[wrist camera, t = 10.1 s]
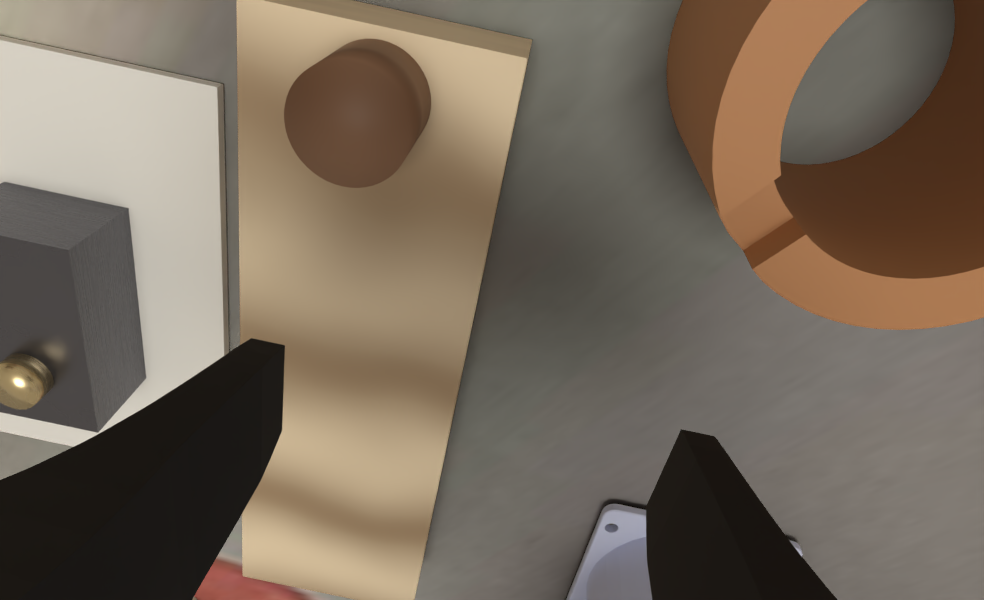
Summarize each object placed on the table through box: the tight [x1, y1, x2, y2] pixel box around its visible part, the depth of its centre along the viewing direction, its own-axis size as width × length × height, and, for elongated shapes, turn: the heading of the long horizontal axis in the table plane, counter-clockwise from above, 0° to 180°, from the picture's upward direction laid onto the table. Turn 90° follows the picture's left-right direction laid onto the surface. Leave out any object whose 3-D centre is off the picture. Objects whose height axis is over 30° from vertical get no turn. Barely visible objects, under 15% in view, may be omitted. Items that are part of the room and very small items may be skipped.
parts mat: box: [0, 35, 229, 446], centre depth 23 cm, size 16×10×1 cm, turn 169°
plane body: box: [237, 0, 532, 600], centre depth 21 cm, size 22×7×5 cm, turn 169°
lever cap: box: [0, 182, 146, 433], centre depth 22 cm, size 7×4×4 cm, turn 169°
